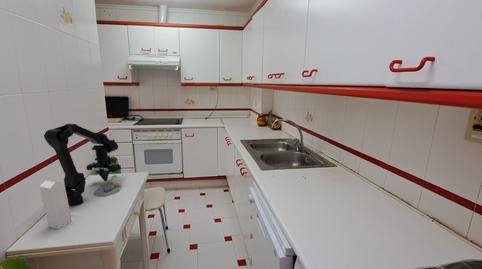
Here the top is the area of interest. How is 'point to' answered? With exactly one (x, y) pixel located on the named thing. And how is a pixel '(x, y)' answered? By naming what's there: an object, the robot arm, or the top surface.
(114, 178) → the peg
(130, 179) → the top surface
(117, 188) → the grey round disc
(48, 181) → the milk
